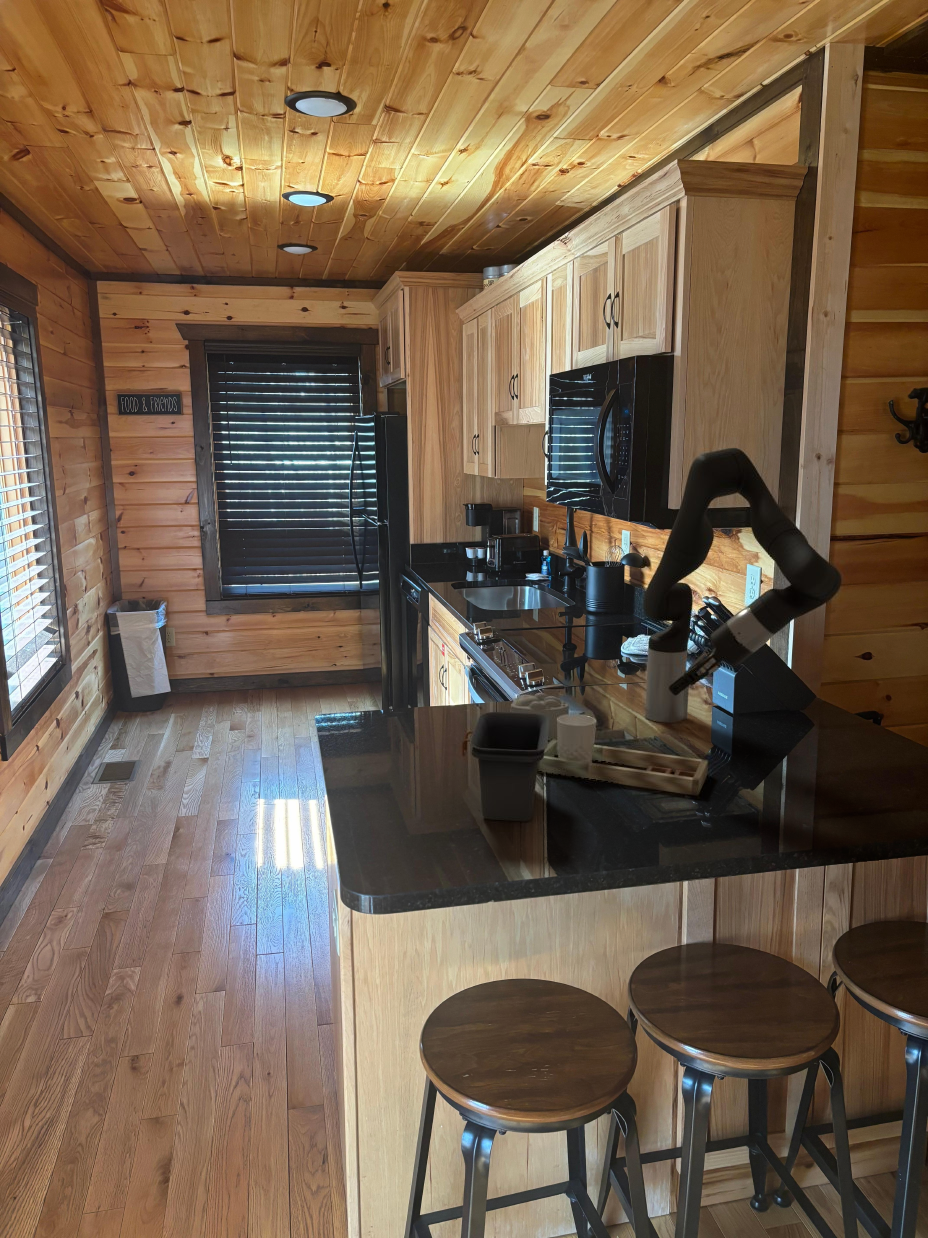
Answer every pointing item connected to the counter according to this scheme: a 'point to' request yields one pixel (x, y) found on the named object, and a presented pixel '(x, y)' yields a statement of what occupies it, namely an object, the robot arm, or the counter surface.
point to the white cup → (576, 737)
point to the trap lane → (655, 777)
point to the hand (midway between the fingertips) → (672, 691)
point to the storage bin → (508, 761)
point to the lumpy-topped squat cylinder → (542, 708)
